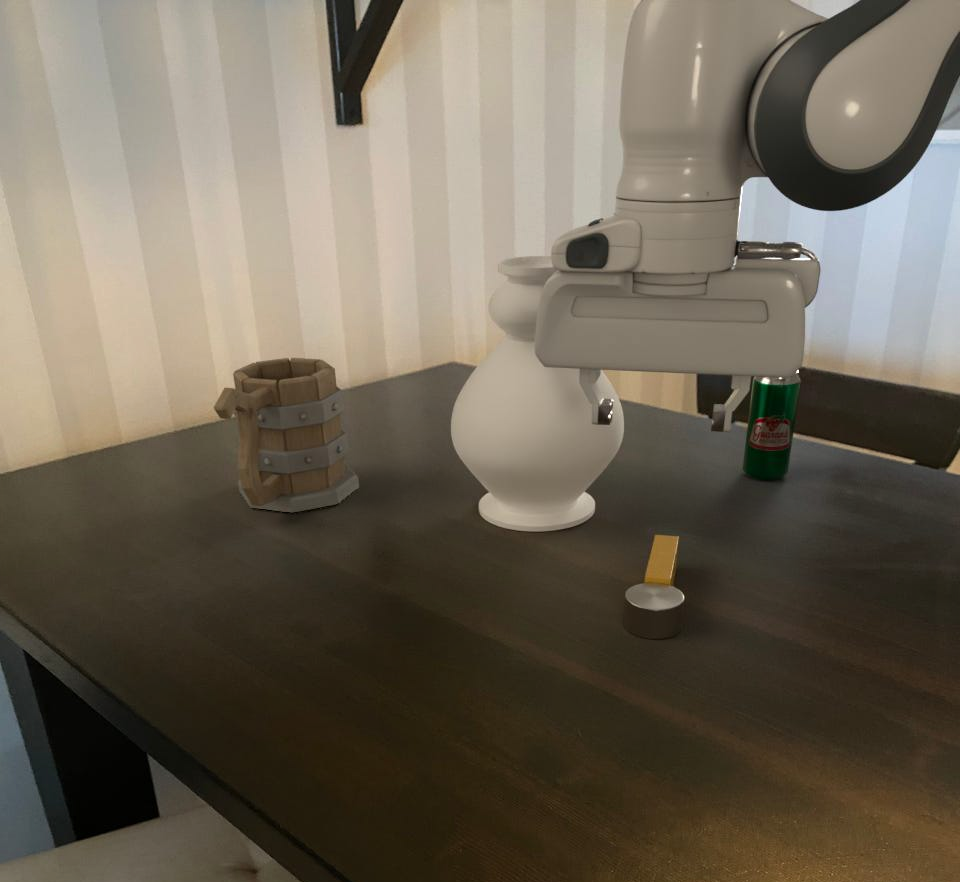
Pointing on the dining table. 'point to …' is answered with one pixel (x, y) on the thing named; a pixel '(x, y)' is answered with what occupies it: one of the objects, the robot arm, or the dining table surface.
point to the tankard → (289, 434)
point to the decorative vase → (531, 419)
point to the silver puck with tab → (656, 595)
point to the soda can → (771, 426)
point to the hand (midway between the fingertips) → (660, 426)
